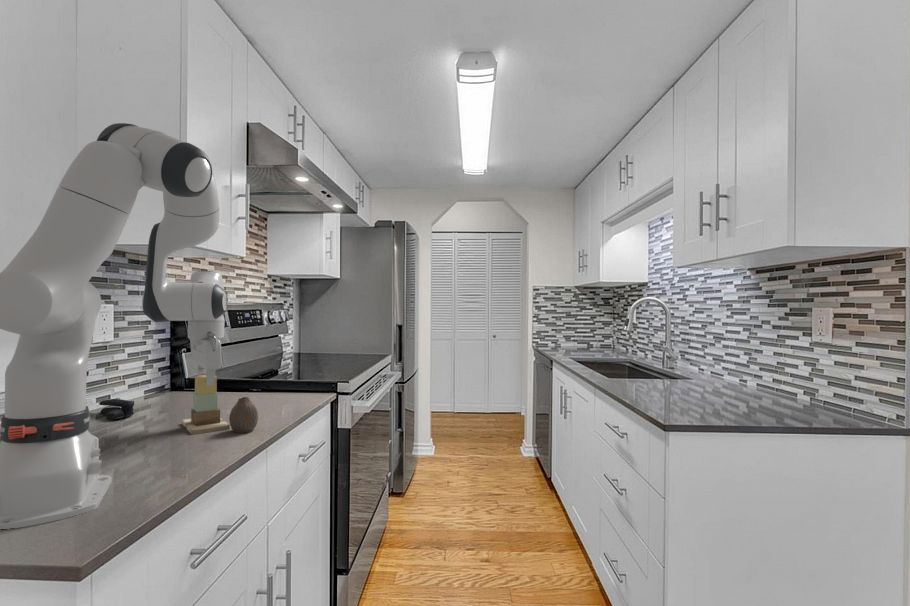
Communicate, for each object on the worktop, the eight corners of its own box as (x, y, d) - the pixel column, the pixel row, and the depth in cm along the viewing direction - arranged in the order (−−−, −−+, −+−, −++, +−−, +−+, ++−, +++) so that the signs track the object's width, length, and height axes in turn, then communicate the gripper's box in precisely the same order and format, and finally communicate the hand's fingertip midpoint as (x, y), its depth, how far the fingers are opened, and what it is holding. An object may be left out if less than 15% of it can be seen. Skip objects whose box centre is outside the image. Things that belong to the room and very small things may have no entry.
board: (229, 429, 131) (229, 425, 131) (191, 434, 126) (191, 430, 126) (217, 419, 142) (217, 415, 142) (182, 424, 137) (182, 419, 137)
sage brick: (217, 409, 134) (217, 393, 134) (196, 412, 130) (196, 395, 130) (213, 406, 137) (213, 390, 137) (193, 409, 134) (193, 392, 134)
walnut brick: (220, 422, 134) (220, 409, 134) (195, 426, 130) (195, 412, 130) (215, 418, 138) (215, 406, 138) (191, 421, 135) (191, 408, 135)
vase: (246, 435, 125) (246, 401, 125) (223, 433, 127) (223, 399, 127) (263, 429, 132) (263, 396, 132) (241, 427, 134) (241, 394, 134)
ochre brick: (216, 393, 134) (216, 376, 134) (198, 394, 131) (198, 377, 131) (213, 390, 137) (213, 374, 137) (194, 392, 134) (195, 375, 135)
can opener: (140, 418, 144) (140, 399, 144) (112, 422, 139) (112, 402, 139) (115, 410, 155) (116, 392, 155) (89, 414, 149) (89, 395, 149)
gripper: (228, 333, 128) (227, 386, 128) (211, 329, 144) (210, 377, 144) (201, 333, 124) (200, 389, 124) (186, 330, 140) (186, 379, 140)
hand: (205, 382), depth 134 cm, fingers open, 8 cm apart
